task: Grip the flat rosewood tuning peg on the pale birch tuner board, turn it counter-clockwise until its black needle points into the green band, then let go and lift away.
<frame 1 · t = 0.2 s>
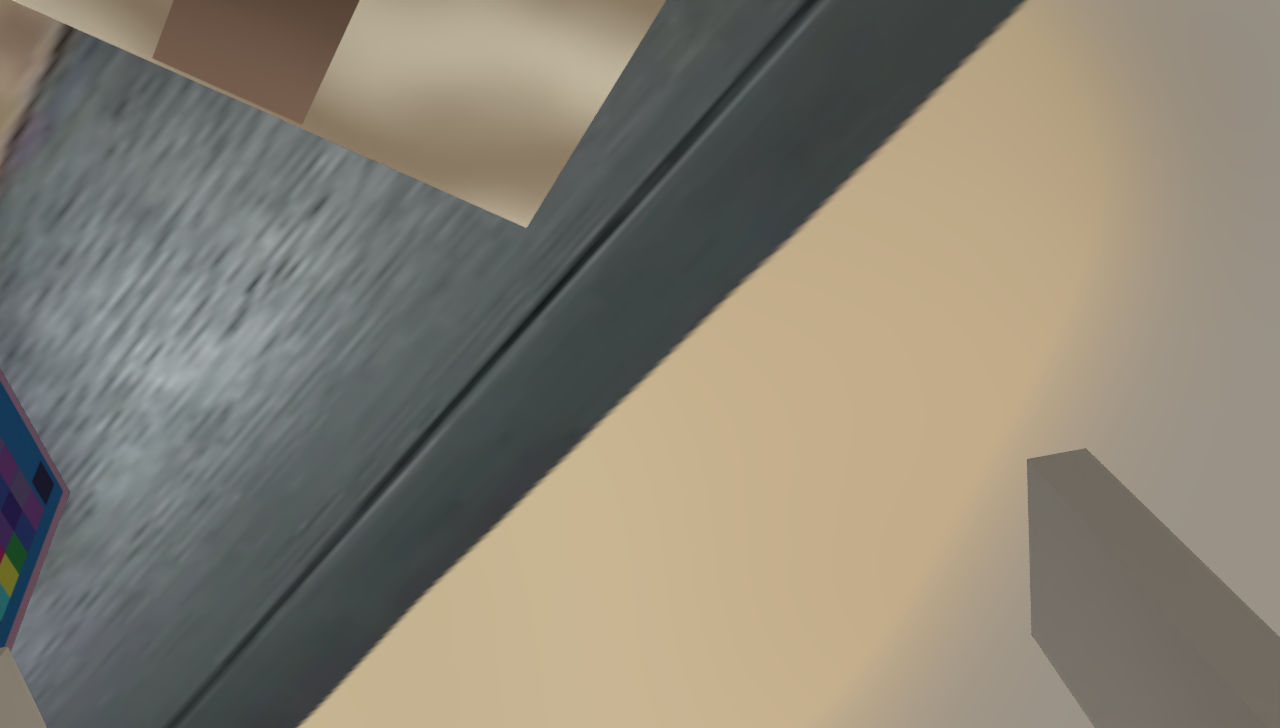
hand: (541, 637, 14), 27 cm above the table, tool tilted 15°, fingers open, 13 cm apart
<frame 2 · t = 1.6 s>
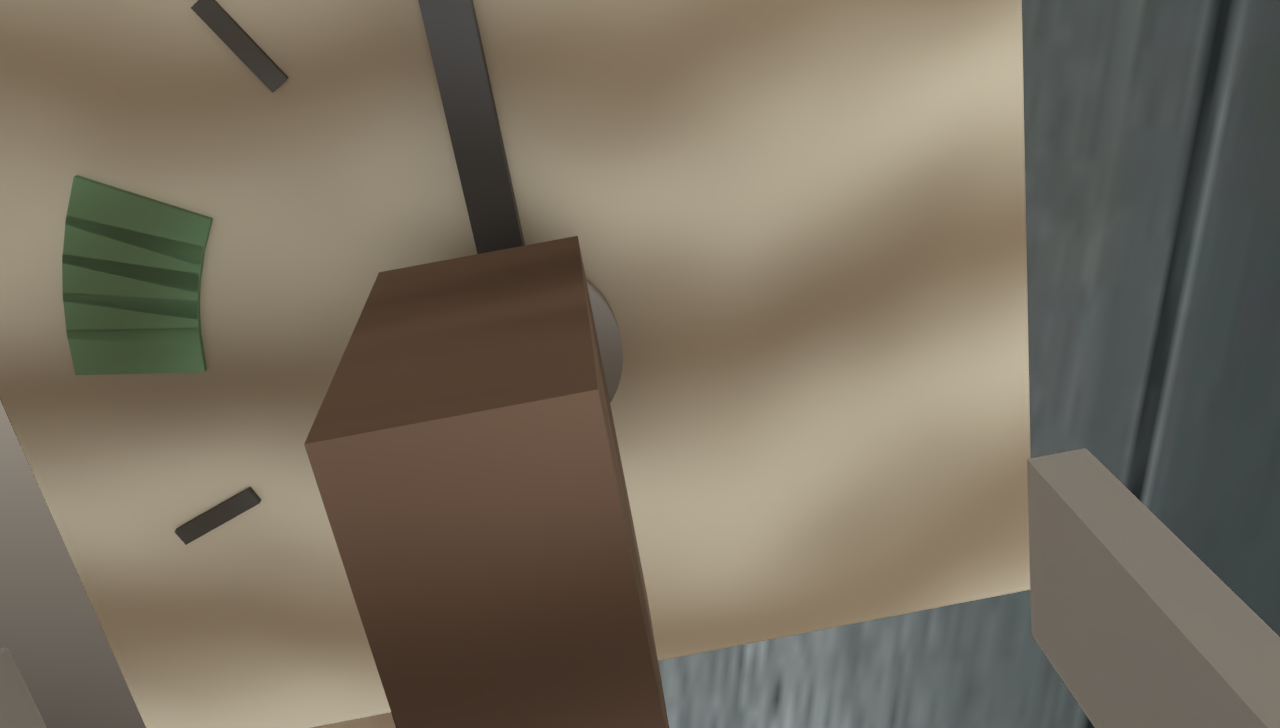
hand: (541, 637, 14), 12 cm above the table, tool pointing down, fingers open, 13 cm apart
tuner board: (526, 308, 25), on the table
tuning peg: (490, 328, 17), point 8 cm above the table, hinge at 0.0°
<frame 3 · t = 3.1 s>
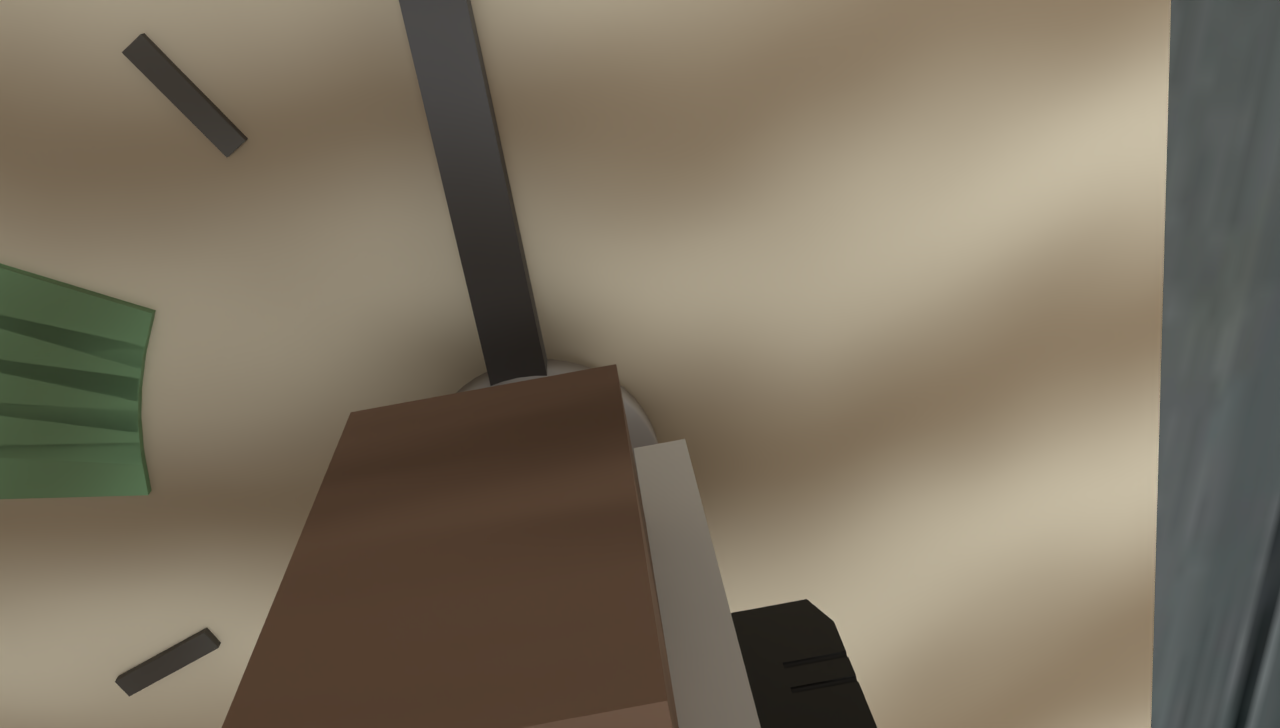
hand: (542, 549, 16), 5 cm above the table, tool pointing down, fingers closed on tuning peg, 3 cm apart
tuner board: (544, 407, 21), on the table
tuning peg: (498, 491, 12), point 8 cm above the table, hinge at 0.0°, touching gripper
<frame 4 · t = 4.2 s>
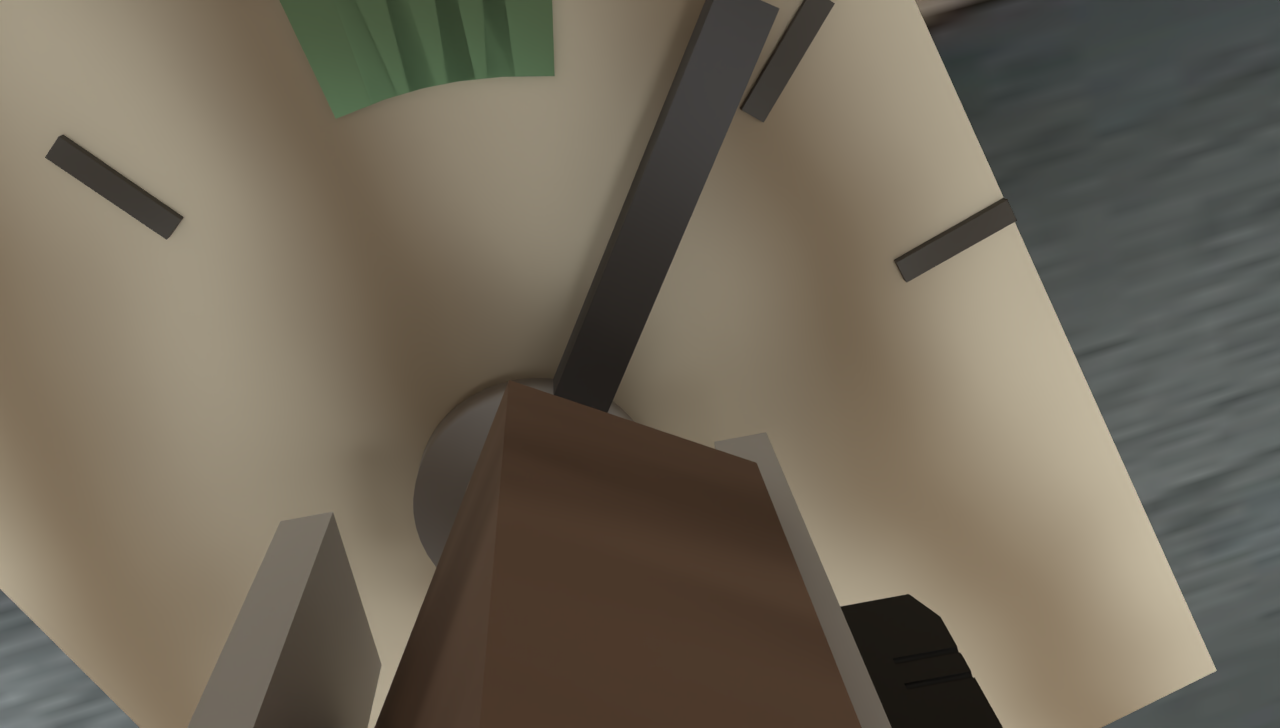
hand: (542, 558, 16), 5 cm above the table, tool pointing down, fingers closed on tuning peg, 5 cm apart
tuner board: (539, 424, 20), on the table
tuning peg: (608, 523, 12), point 8 cm above the table, hinge at 37.8°, touching gripper
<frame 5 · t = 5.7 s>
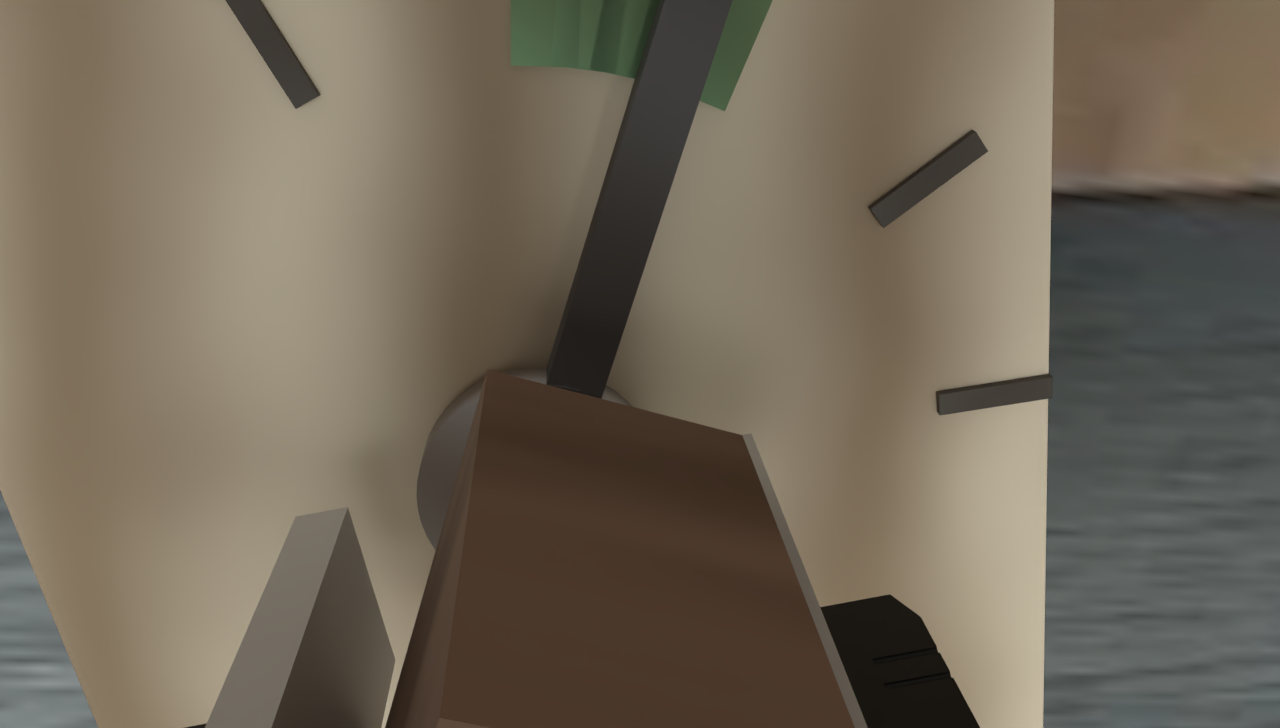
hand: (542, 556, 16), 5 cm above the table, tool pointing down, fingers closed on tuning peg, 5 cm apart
tuner board: (541, 414, 20), on the table
tuning peg: (596, 504, 12), point 8 cm above the table, hinge at 64.8°, touching gripper
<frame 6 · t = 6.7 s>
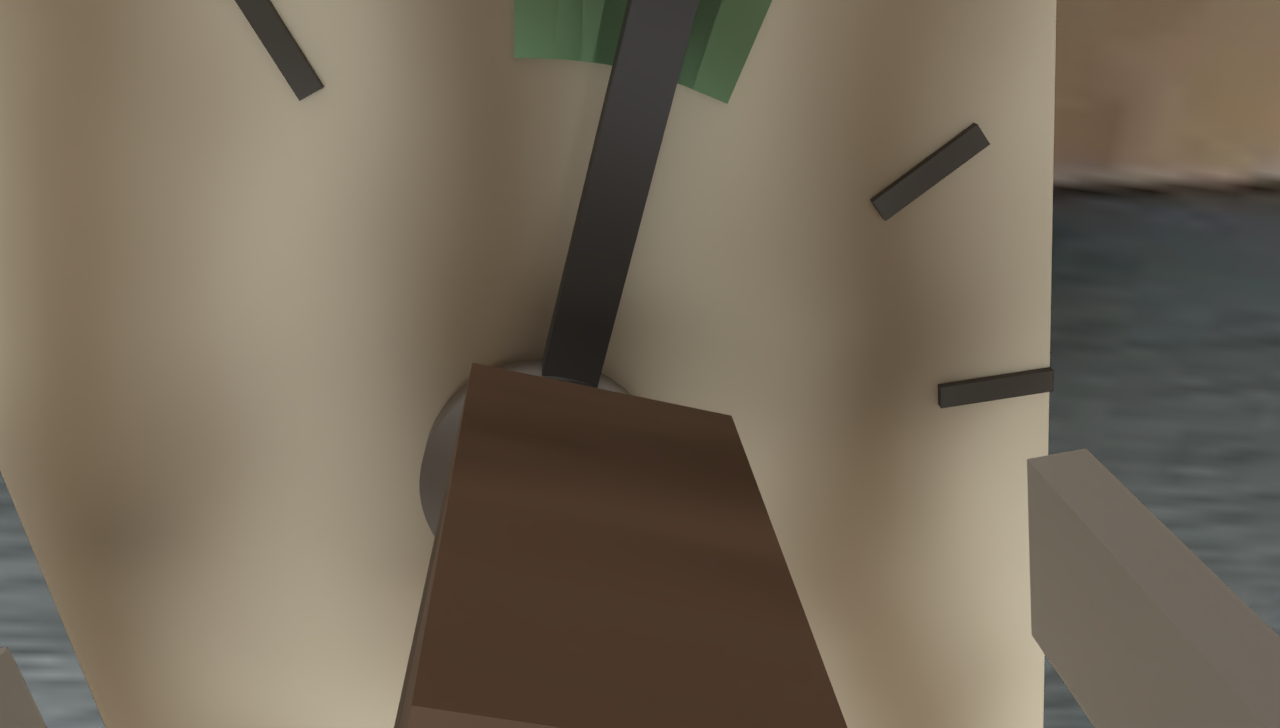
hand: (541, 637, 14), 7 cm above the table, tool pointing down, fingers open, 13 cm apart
tuner board: (543, 407, 21), on the table
tuning peg: (587, 492, 13), point 8 cm above the table, hinge at 68.1°
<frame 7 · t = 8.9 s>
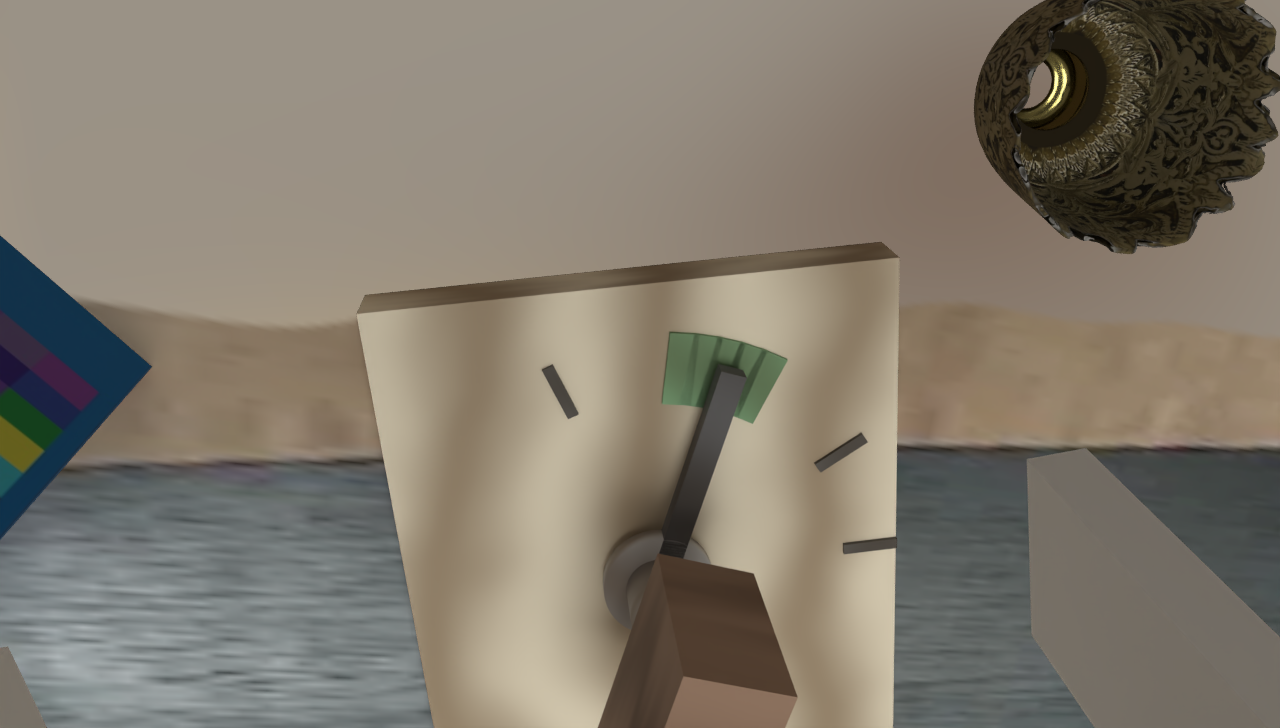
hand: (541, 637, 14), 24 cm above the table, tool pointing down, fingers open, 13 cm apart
tuner board: (650, 541, 41), on the table
cup: (1024, 82, 36), on the table
tuning peg: (699, 603, 33), point 8 cm above the table, hinge at 69.0°
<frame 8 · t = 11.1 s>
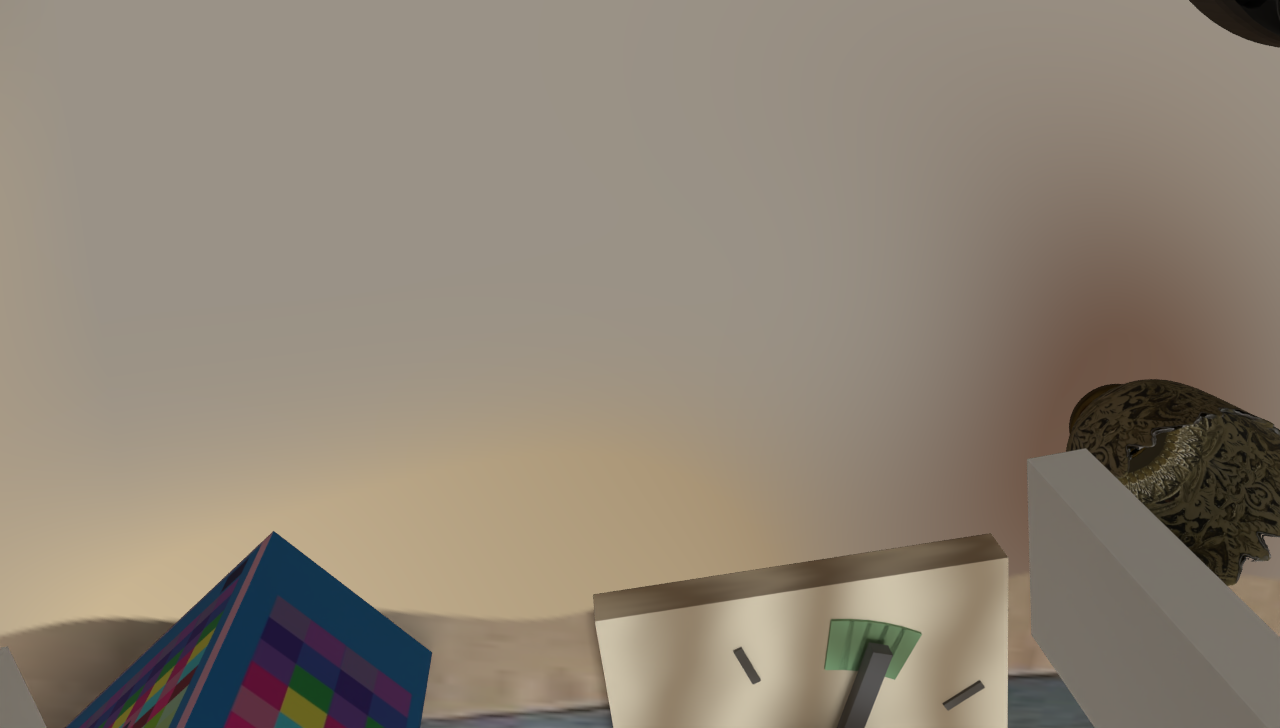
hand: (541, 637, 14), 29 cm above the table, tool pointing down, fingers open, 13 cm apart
box: (231, 703, 49), on the table
cup: (1101, 414, 46), on the table
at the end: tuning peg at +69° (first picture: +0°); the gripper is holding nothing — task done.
